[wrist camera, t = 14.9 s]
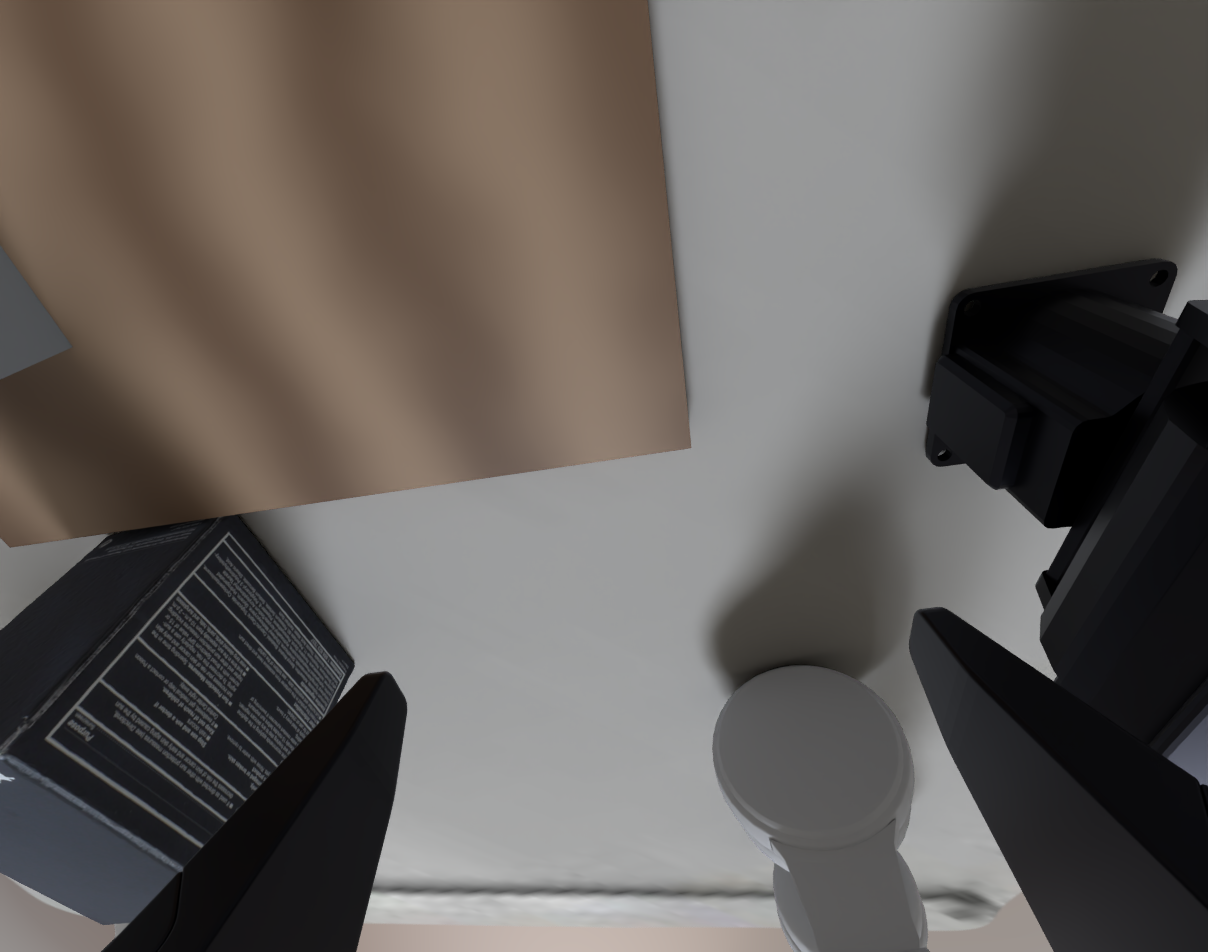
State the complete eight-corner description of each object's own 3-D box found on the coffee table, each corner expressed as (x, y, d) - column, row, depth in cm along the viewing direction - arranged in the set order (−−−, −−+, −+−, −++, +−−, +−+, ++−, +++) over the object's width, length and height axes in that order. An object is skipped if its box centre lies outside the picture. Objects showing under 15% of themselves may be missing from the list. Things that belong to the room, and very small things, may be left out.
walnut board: (521, -1214, 7) (507, -1424, 6) (686, 431, 21) (691, 447, 20) (-984, -582, 10) (-1165, -662, 9) (35, 528, 23) (10, 547, 22)
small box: (97, 533, 24) (-206, 786, 15) (232, 500, 23) (-3, 748, 14) (247, 687, 29) (93, 937, 20) (361, 665, 28) (251, 918, 19)
